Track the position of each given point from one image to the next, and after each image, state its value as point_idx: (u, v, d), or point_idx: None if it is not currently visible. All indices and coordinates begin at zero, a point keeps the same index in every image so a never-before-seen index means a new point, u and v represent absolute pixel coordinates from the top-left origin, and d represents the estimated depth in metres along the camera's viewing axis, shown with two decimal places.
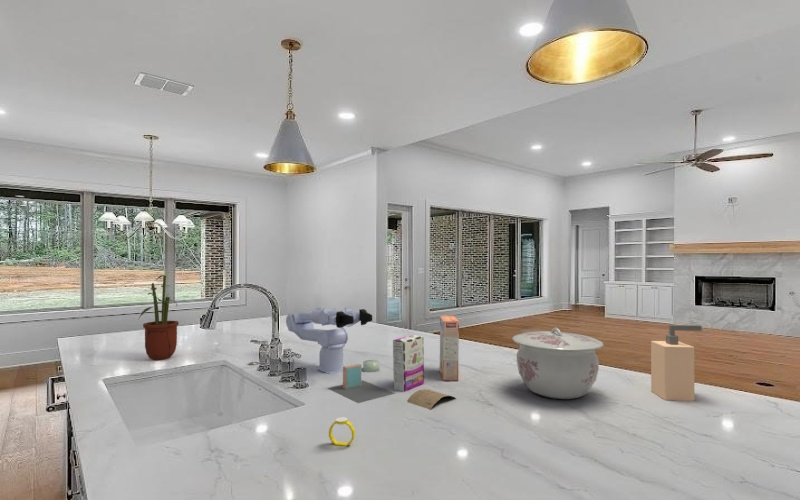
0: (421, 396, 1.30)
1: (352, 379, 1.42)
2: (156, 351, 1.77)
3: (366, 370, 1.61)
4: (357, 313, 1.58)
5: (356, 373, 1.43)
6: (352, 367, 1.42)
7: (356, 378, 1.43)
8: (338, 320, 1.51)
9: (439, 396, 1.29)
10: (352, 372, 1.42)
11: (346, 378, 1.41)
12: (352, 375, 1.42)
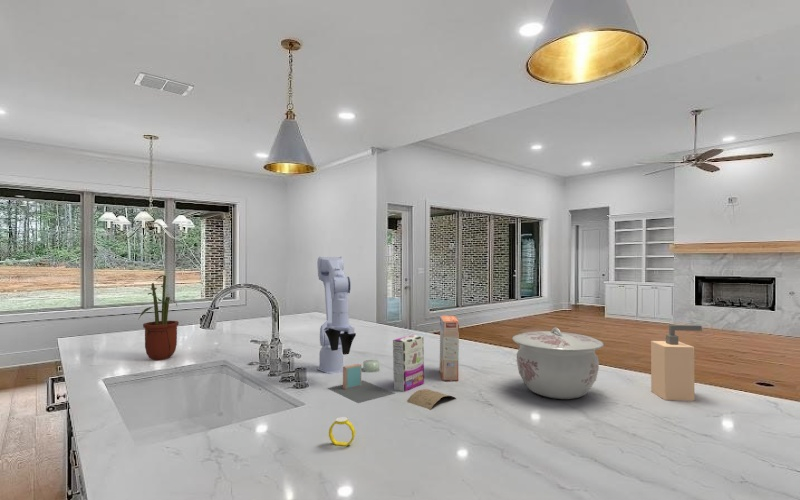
0: (421, 396, 1.30)
1: (352, 379, 1.42)
2: (156, 351, 1.77)
3: (366, 370, 1.61)
4: None
5: (356, 373, 1.43)
6: (352, 367, 1.42)
7: (356, 378, 1.43)
8: None
9: (439, 396, 1.29)
10: (352, 372, 1.42)
11: (346, 378, 1.41)
12: (352, 375, 1.42)
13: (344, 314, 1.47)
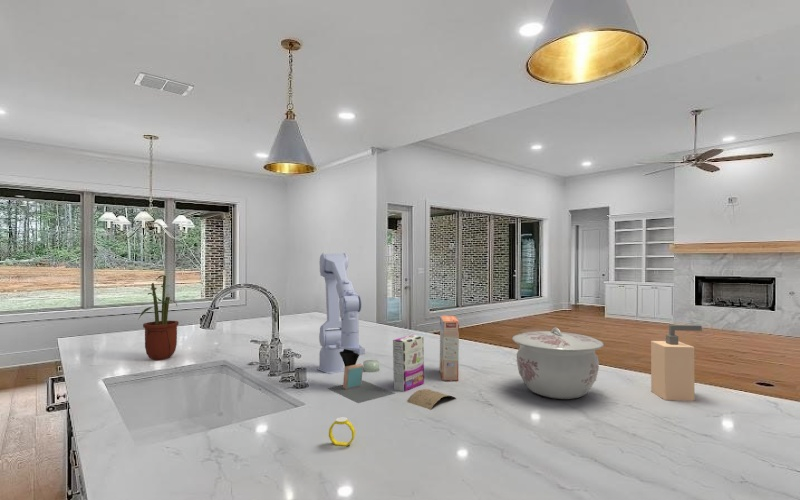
0: (421, 396, 1.30)
1: (352, 379, 1.41)
2: (156, 351, 1.77)
3: (366, 370, 1.61)
4: None
5: (357, 374, 1.42)
6: (354, 368, 1.41)
7: (357, 378, 1.42)
8: None
9: (439, 396, 1.29)
10: (353, 373, 1.41)
11: (347, 378, 1.40)
12: (353, 375, 1.41)
13: (354, 333, 1.42)
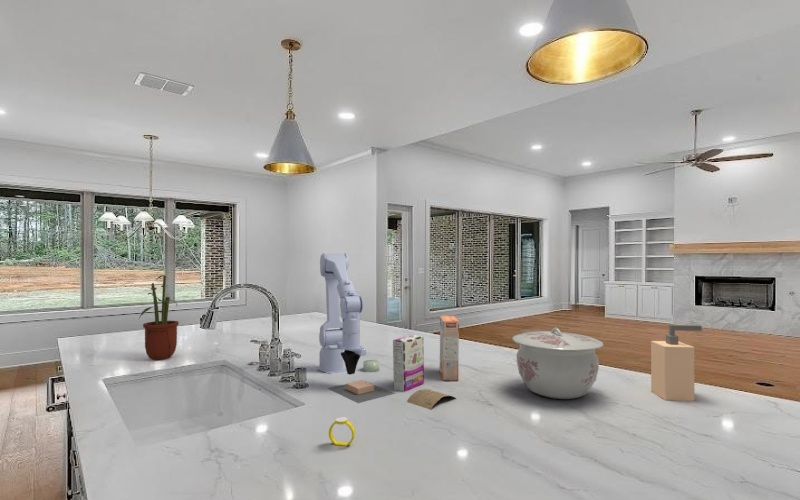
0: (421, 396, 1.30)
1: None
2: (156, 351, 1.77)
3: (366, 370, 1.61)
4: None
5: None
6: (364, 392, 1.37)
7: None
8: None
9: (439, 396, 1.29)
10: None
11: (352, 391, 1.38)
12: None
13: (355, 334, 1.42)
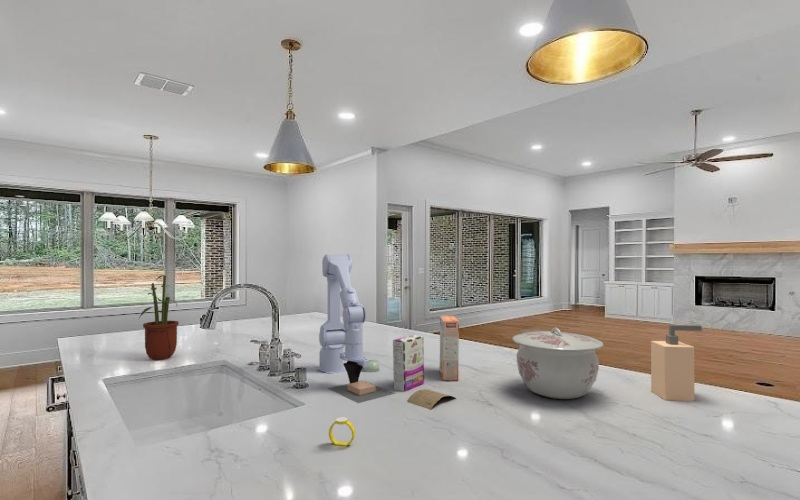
0: (421, 396, 1.30)
1: None
2: (156, 351, 1.77)
3: (366, 370, 1.61)
4: None
5: None
6: (365, 393, 1.36)
7: None
8: None
9: (439, 396, 1.29)
10: None
11: (354, 392, 1.37)
12: None
13: (358, 345, 1.40)
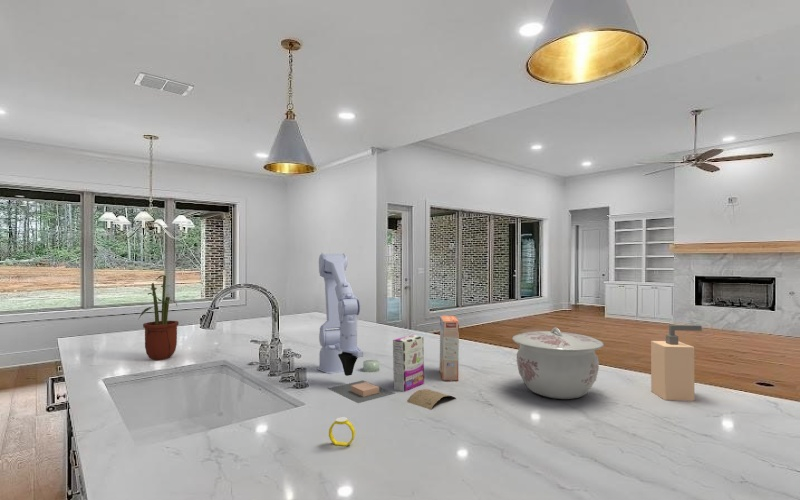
0: (421, 396, 1.30)
1: None
2: (156, 351, 1.77)
3: (366, 370, 1.61)
4: None
5: None
6: (369, 394, 1.35)
7: None
8: None
9: (439, 396, 1.29)
10: None
11: (357, 393, 1.36)
12: None
13: (352, 336, 1.44)
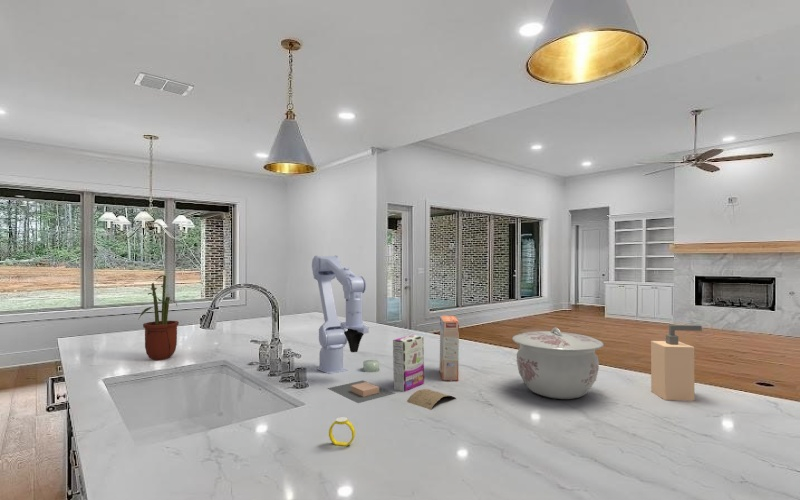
0: (421, 396, 1.30)
1: None
2: (156, 351, 1.77)
3: (366, 370, 1.61)
4: (356, 329, 1.46)
5: None
6: (369, 394, 1.35)
7: None
8: None
9: (439, 396, 1.29)
10: None
11: (357, 393, 1.36)
12: None
13: (358, 313, 1.47)
